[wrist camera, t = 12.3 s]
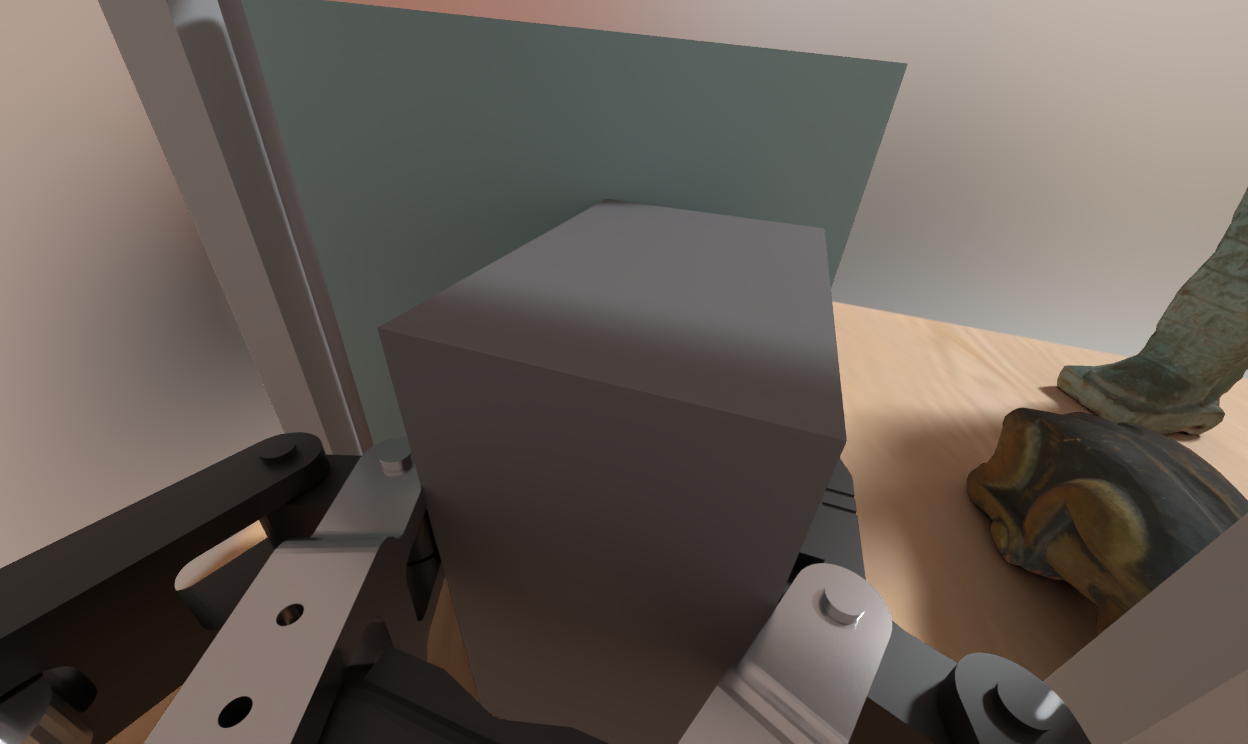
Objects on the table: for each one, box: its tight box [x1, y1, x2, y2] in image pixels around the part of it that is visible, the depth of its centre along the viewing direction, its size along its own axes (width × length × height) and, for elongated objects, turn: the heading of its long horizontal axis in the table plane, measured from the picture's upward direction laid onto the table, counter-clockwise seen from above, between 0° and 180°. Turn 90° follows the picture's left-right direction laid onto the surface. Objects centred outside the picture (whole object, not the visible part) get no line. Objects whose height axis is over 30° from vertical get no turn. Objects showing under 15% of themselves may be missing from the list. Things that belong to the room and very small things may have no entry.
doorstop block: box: [377, 199, 847, 744], centre depth 11 cm, size 6×8×11 cm
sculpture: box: [967, 408, 1248, 637], centre depth 17 cm, size 13×6×7 cm, turn 164°
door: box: [217, 0, 907, 454], centre depth 16 cm, size 16×2×18 cm, turn 102°
